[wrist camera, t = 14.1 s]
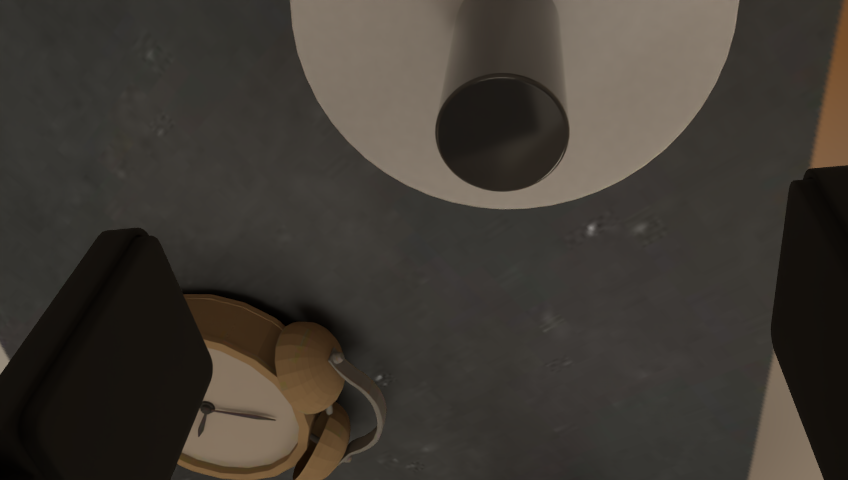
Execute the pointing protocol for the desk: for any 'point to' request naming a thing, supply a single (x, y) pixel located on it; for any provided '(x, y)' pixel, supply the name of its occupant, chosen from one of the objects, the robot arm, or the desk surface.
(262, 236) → the desk surface
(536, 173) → the lid
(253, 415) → the alarm clock
